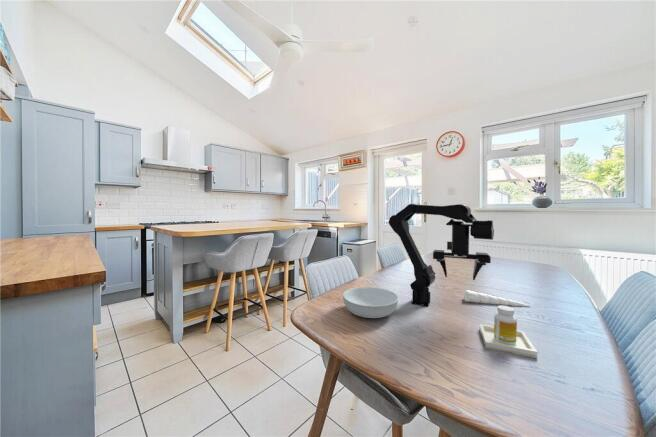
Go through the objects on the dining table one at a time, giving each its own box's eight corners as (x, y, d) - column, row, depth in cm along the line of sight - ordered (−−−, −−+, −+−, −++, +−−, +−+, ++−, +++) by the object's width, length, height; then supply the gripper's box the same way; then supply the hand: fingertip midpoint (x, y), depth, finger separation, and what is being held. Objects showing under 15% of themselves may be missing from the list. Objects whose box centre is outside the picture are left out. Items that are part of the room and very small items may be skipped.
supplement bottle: (521, 343, 71) (522, 310, 70) (505, 346, 70) (506, 312, 69) (504, 334, 76) (505, 303, 75) (489, 336, 75) (490, 305, 74)
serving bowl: (407, 312, 94) (408, 294, 94) (379, 332, 79) (379, 311, 78) (363, 298, 108) (363, 282, 108) (331, 313, 93) (331, 295, 93)
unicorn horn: (535, 311, 94) (535, 299, 94) (465, 303, 103) (465, 292, 103) (530, 306, 99) (530, 294, 99) (463, 299, 107) (463, 288, 107)
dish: (485, 348, 70) (485, 342, 70) (479, 329, 80) (479, 324, 80) (537, 358, 65) (537, 351, 65) (523, 337, 75) (523, 331, 75)
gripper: (485, 236, 95) (484, 275, 96) (433, 234, 103) (433, 270, 104) (491, 239, 85) (490, 283, 86) (433, 237, 93) (432, 277, 94)
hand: (459, 278), depth 93 cm, fingers open, 9 cm apart
